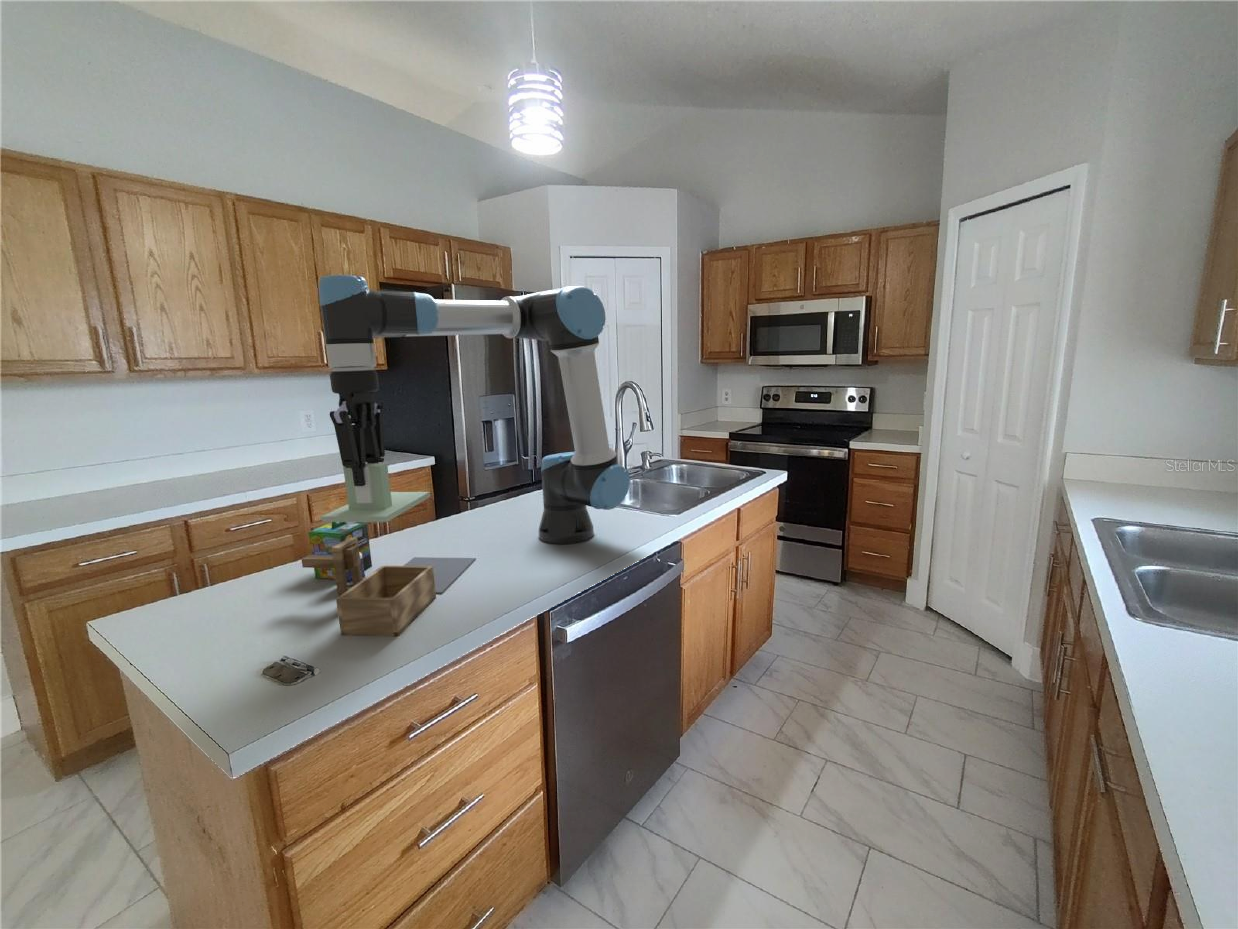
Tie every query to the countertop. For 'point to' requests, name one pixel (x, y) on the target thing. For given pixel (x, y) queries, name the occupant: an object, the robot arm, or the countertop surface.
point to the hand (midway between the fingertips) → (369, 500)
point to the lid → (374, 499)
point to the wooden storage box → (380, 596)
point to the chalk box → (335, 534)
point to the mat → (443, 569)
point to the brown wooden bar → (326, 561)
